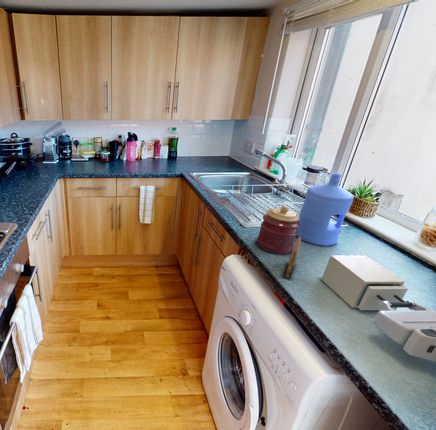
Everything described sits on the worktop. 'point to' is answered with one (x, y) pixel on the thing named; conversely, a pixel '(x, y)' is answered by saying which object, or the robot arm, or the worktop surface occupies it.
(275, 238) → the kitchen canister
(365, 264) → the small drawer cabinet
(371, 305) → the cabinet drawer
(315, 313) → the worktop surface
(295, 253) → the ammunition clip
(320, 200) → the water jug
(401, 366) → the worktop surface
